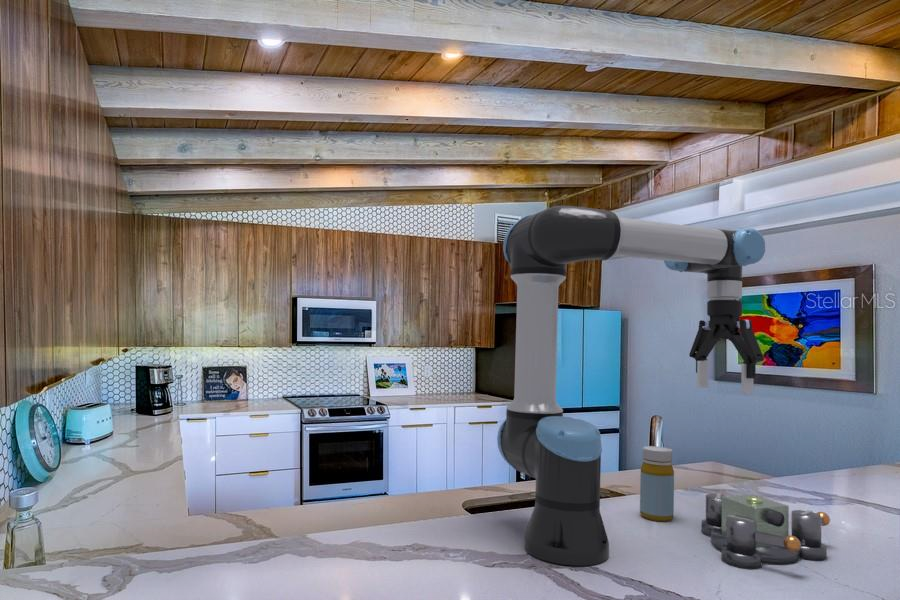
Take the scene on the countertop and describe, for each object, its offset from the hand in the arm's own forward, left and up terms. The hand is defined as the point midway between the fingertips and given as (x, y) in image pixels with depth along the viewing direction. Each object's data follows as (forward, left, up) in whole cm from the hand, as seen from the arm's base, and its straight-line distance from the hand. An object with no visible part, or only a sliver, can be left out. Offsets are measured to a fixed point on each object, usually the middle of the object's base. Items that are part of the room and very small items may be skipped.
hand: (723, 390), depth 138 cm
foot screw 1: (-11, -10, -26) cm, 30 cm away
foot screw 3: (-2, -25, -26) cm, 36 cm away
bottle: (-18, 0, -28) cm, 34 cm away
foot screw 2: (-19, -29, -26) cm, 43 cm away
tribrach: (-13, -19, -28) cm, 36 cm away
